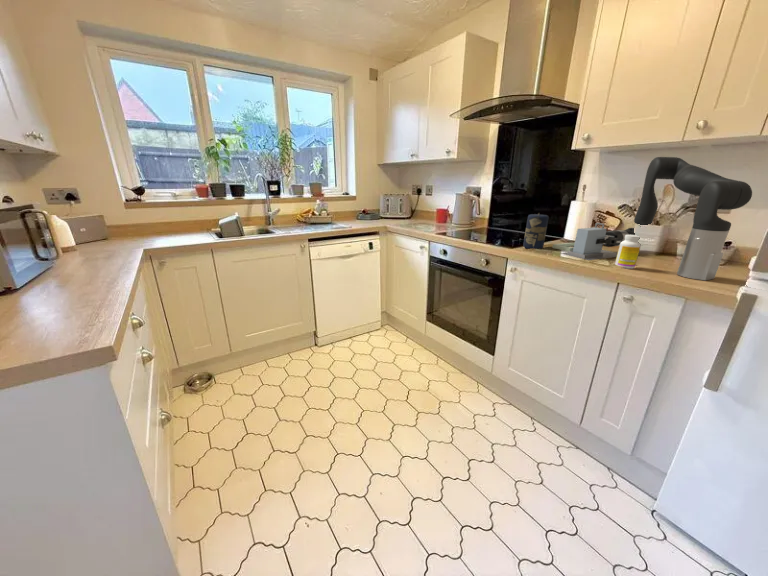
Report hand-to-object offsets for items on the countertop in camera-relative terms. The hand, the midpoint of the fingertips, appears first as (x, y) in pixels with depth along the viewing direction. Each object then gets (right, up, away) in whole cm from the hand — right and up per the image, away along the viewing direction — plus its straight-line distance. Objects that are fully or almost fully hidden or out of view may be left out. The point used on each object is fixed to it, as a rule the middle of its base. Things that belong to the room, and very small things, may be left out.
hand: (590, 240), depth 140 cm
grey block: (-1, -6, +2) cm, 7 cm away
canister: (-17, -1, +19) cm, 26 cm away
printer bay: (+4, -7, +4) cm, 9 cm away
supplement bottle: (+4, -13, -14) cm, 20 cm away
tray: (+2, -2, +16) cm, 17 cm away
